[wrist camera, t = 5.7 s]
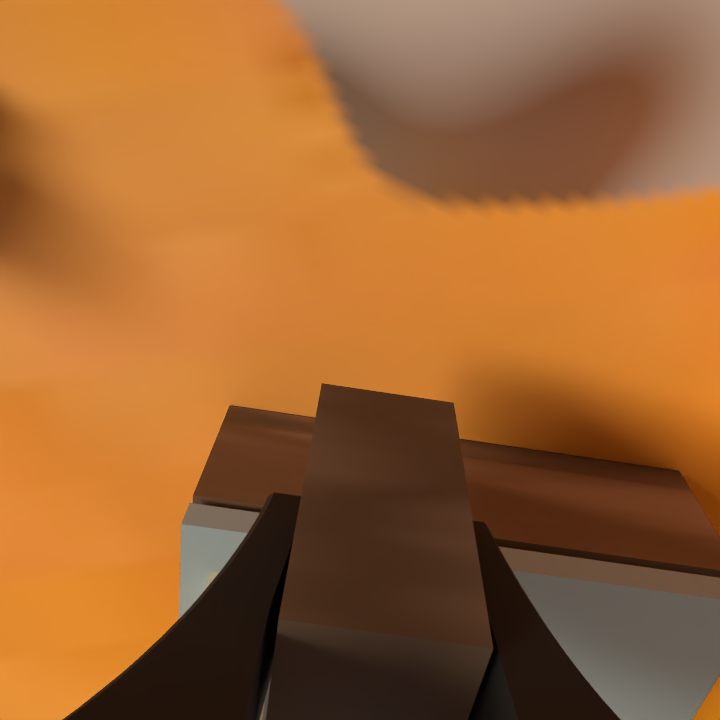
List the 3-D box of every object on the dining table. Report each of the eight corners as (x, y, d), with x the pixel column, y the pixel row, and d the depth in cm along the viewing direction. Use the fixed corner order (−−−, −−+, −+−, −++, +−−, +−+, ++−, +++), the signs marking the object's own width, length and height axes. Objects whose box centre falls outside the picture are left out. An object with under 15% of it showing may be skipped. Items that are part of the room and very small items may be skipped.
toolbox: (571, 698, 28) (602, 815, 24) (214, 651, 27) (183, 761, 23) (679, 471, 22) (742, 573, 18) (229, 405, 21) (193, 495, 17)
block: (453, 402, 15) (493, 648, 9) (428, 505, 16) (448, 773, 11) (321, 383, 15) (279, 619, 9) (307, 487, 16) (261, 749, 10)
